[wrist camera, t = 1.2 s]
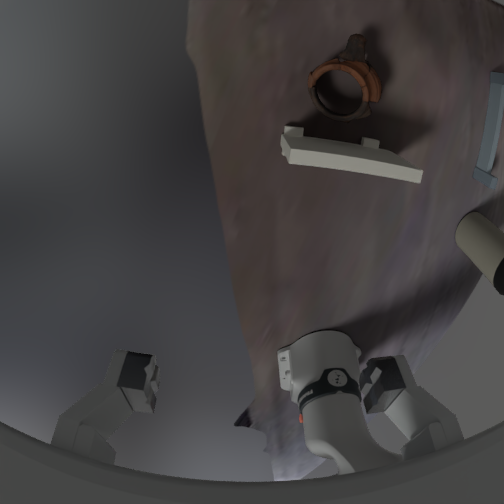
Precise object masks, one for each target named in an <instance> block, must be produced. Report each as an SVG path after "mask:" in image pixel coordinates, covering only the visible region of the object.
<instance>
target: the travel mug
mask: <svg viewBox="0 0 504 504" xmlns="http://www.w3.org/2000/svg"><path fill="white" fill-rule="evenodd" d="M455 240H456V244H457V245H458V247H459V248H460V249H461V250H462V251H463V252H464V253H465V254H466V255H467V256H468V257H469V258H470V259H471V261H472V262H473V263H474V264H475V265H476V266H477V267H478V268H479V270H480V271H481V272H482V273H483V274H484V275H485V276H486V277H487V279H488V280H489V281H490V282H491V284H492V285H493V286H494V287H495V288H496V290H497V291H498V292H499V293H500V294H501V295H504V233H503V232H502V231H501V230H500V229H499V228H497V227H496V226H495V225H494V224H493V223H492V222H490V221H489V220H488V219H487V218H485V217H484V216H483V215H482V214H480V213H479V212H471V213H469V214H468V215H466V216H465V217H464V218H463V219H462V220H461V222H460V223H459V225H458V227H457V230H456V235H455Z"/></svg>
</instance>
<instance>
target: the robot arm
mask: <svg viewBox="0 0 504 504" xmlns="http://www.w3.org/2000/svg"><path fill="white" fill-rule="evenodd" d="M277 355H278V365H279V376H280V385H281V388H282V389H284V390H288V391H290V393H291V400H292V401H293V402H295V403H297V404H298V408H299V411H300V413H301V414H300V417H299V420H300V422H301V423H302V422H303V424H304V433H305V443H306V446H307V447H308V449H309V450H310V451H311V452H312V453H313V454H314V455H316V456H319V457H322V458H327V459H334V460H335V461H336V464H337V466H338V474H336V475H332V476H329V477H323V478H313V479H304V480H291V481H272V482H231V481H210V480H199V479H189V478H180V477H173V476H167V475H160V474H154V473H149V472H143V471H138V470H134V469H129V468H125V467H120V466H116V465H114V461H115V455H116V451H115V450H114V449H113V448H112V447H111V446H110V445H109V444H108V443H107V442H106V440H107V439H108V438H109V437H110V436H111V435H112V434H113V433H114V432H115V431H116V430H117V429H118V428H119V426H120V425H121V424H122V423H123V422H124V421H125V420H126V419H127V418H128V417H129V416H130V415H131V413H132V412H133V411H140V412H146V413H154V409H155V404H156V396H155V394H154V393H155V392H156V391H157V390H158V389H159V383H160V371H159V367H158V366H157V365H156V357H155V355H151V354H144V353H137V352H131V351H125V350H118V349H117V350H116V351H115V352H114V354H113V357H112V359H111V362H110V365H109V368H108V371H107V374H106V377H105V380H104V383H103V384H101V383H100V384H98V385H97V386H96V387H95V388H93V389H92V390H91V391H90V392H88V393H87V394H86V395H85V396H84V397H82V398H81V399H80V400H79V401H77V402H76V403H75V404H74V405H72V406H71V407H70V408H69V409H68V410H66V411H65V412H64V413H63V414H61V415H60V416H59V419H58V422H57V426H56V428H55V432H54V435H53V438H52V441H51V444H48V443H45V442H43V441H41V440H38V439H36V438H34V437H31V436H29V435H27V434H25V433H23V432H20V431H18V430H16V429H14V428H12V427H10V426H8V425H6V424H4V423H2V422H1V421H0V504H504V421H502V422H501V423H499V424H497V425H495V426H493V427H491V428H489V429H487V430H485V431H483V432H480V433H478V434H476V435H474V436H472V437H469V438H467V439H465V440H464V437H463V434H462V432H461V429H460V426H459V423H458V421H457V418H456V416H455V414H453V413H452V412H451V411H450V410H449V409H447V408H446V407H445V406H444V405H443V404H441V403H440V402H439V401H438V400H436V399H435V398H434V397H433V396H432V395H430V394H429V393H428V392H427V391H426V390H424V389H423V388H422V387H421V386H417V384H416V382H415V379H414V377H413V374H412V372H411V370H410V367H409V365H408V362H407V360H406V358H405V357H404V356H403V355H398V356H387V357H378V358H371V359H369V360H368V361H367V363H366V365H367V367H366V368H365V369H363V370H362V372H361V371H360V366H359V361H358V358H359V356H360V355H361V349H360V348H359V347H357V346H355V345H354V344H353V342H352V340H351V338H350V337H349V336H347V335H346V334H344V333H342V332H338V331H319V332H315V333H311V334H309V335H306V336H304V337H302V338H300V339H299V340H297V341H296V342H295V343H293V344H292V345H290V346H287V347H285V348H282V349H280V350H279V351H278V352H277ZM358 383H359V385H358ZM359 387H360V389H359ZM361 392H362V393H363V394H364V395H365V397H364V400H363V402H364V406H365V409H366V413H367V414H369V413H377V412H384V411H385V414H386V415H387V416H388V417H389V418H390V419H391V420H392V422H393V423H394V424H395V425H396V426H397V427H398V428H399V429H400V430H401V431H402V433H403V434H404V435H405V436H406V437H407V438H408V439H409V440H410V441H409V442H408V443H407V444H405V445H404V446H403V447H402V448H401V453H402V455H400V454H396V453H392V452H390V451H388V450H386V449H384V448H383V447H381V446H380V445H379V444H378V443H377V442H376V441H375V440H374V439H373V437H372V436H371V434H370V432H369V430H368V427H367V424H366V421H365V418H364V415H363V411H362V407H361V400H362V399H361Z"/></svg>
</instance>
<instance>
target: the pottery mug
mask: <svg viewBox="0 0 504 504" xmlns="http://www.w3.org/2000/svg"><path fill="white" fill-rule="evenodd" d="M366 41H367V40H366V39H365V38H364V37H363V36H362V35H360V34H354V35H351V36H350V37H349V40H348V43H347V46H346V49H345V51H344V52H341V53H340V54H339V55H340V57H341V58H342V59H344V60H346V61H343V62H340V61H339V59H338V58H337V59H333V60H330V61H327V62H325V63H323V64H322V65H320V66H319V67H317V68H316V69H315V70H314V72H310V74H309V78H308V91H309V93H310V97H311V99H312V101H313V103H314V105H315V106H316V108H317V109H318V110H319V111H320V112H322V113H323V114H324V115H325V116H326V117H329V118H331V119H333V120H336V121H342V122H348V123H349V122H350V120H353V119H361V118H363V117H368V116H369V115H370V114H371V112H372V111H371V110H370V107H369V102H368V101H371V102H376V103H377V102H378V101H379V100H380V97H381V93H382V85H381V82H380V79H379V77H378V75H377V73H376V71H375V70H374V68H373V67H372V66H371V65H370V64H369V62H368V61H366V60H365V49H364V47H365V43H366ZM331 70H342V71H345V72H347V73H349V74H351V75H352V76H353V77H354V78H355V79H356V80H357V81H358V83H359V84H360V86H361V89H362V94H363V97H362V103H361V105H360V107H359V108H358V109H357V110H356V111H354V112H352V113H350V114H338V113H335V112H332V111H330V110H329V109H328V108H326V107H325V106H324V105H323V103H322V102H321V101H320V99H319V97H318V94H317V89H316V87H315V86H316V81H317V79H319V78H320V77H321V76H322V75H323V74H324V73H325V72H328V71H331Z"/></svg>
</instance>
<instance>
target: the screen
mask: <svg viewBox="0 0 504 504" xmlns="http://www.w3.org/2000/svg"><path fill="white" fill-rule="evenodd" d="M303 131H304V128H303V127H295V126H286V125H285V128H284V134H282V135H281V147H282V155H284V156H286V158H287V160H288V162H289V164H299V165H308V166H317V167H325V168H332V169H340V170H347V171H354V172H360V173H366V174H373V175H378V176H384V177H390V178H395V179H401V180H406V181H411V182H416V183H420V182H421V178H422V174H423V170H421V169H419V168H418V167H416V166H415V165H413V164H411V163H410V162H408V161H406V160H405V159H403V158H401V157H400V156H398V155H396V154H395V153H393V152H391V151H389V150H385V149H380V148H379V143H380V141H378V140H376V139H371V138H366V137H362V140H361V145H359V144H353V143H347V142H341V141H335V140H328V139H321V138H314V137H306V136H303Z"/></svg>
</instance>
